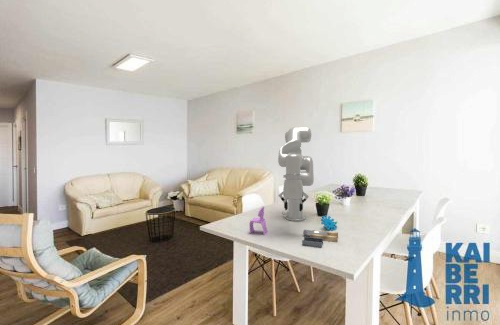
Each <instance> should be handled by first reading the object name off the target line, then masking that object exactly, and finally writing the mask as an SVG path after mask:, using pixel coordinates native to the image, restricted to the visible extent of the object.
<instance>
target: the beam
mask: <svg viewBox="0 0 500 325" xmlns="http://www.w3.org/2000/svg"><path fill="white" fill-rule="evenodd" d="M312 230H313V231H318V230H316V229H312ZM322 231H323V232H328V236H327V235H318V234H311V235H310V236H309V237H315V238H323V242H324V241H325V242H334V243H338V240H339V232H337V231H328V230H326V231H324V230H322Z"/></svg>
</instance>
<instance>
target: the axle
mask: <svg viewBox="0 0 500 325" xmlns="http://www.w3.org/2000/svg"><path fill="white" fill-rule="evenodd" d="M313 230H314V229H312V230H311V229H303V231H302V236H303V237H304V236H306V237H310V235H311V234H318V235H327V236H328V232H329V231H327V232H323V231H324V230H317V231H313Z"/></svg>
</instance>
